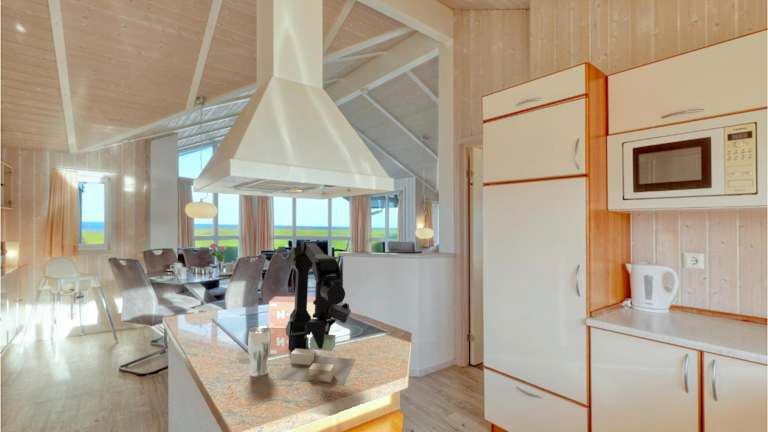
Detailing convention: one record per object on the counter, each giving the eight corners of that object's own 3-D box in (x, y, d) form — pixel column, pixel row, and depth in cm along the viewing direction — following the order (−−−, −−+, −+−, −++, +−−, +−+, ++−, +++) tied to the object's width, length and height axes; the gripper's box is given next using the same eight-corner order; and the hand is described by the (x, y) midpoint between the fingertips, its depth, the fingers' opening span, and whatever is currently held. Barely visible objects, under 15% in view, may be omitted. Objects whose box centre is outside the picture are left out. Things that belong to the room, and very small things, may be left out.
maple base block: (308, 380, 111) (308, 368, 111) (312, 373, 116) (313, 363, 116) (330, 381, 111) (330, 370, 111) (333, 375, 115) (334, 364, 115)
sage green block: (309, 349, 112) (310, 338, 112) (314, 344, 116) (314, 333, 116) (331, 351, 111) (332, 339, 111) (335, 345, 115) (335, 335, 115)
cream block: (290, 363, 123) (290, 353, 123) (294, 358, 128) (295, 348, 128) (310, 364, 123) (310, 354, 123) (313, 359, 127) (314, 349, 127)
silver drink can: (256, 382, 111) (258, 334, 111) (242, 376, 114) (243, 330, 114) (274, 374, 117) (275, 329, 117) (260, 369, 120) (261, 324, 120)
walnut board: (274, 382, 111) (274, 379, 111) (296, 357, 131) (296, 354, 131) (343, 388, 109) (343, 385, 109) (355, 361, 129) (355, 359, 129)
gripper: (342, 305, 103) (340, 359, 103) (354, 292, 122) (352, 337, 122) (305, 303, 104) (303, 356, 104) (322, 290, 123) (321, 335, 123)
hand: (322, 345), depth 113 cm, fingers closed on sage green block, 4 cm apart
